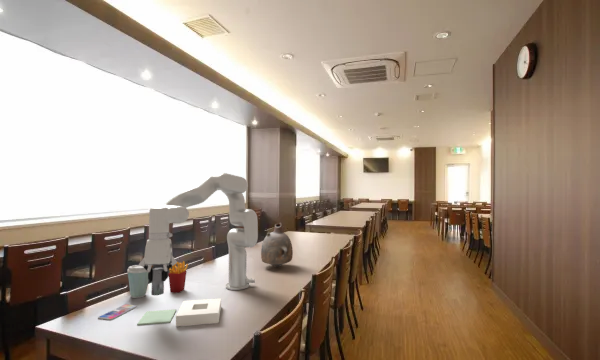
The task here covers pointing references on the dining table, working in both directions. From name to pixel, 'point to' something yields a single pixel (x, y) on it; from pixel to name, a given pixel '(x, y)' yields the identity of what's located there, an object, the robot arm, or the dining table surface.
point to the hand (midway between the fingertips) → (157, 280)
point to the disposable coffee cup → (137, 281)
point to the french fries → (177, 277)
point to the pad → (157, 317)
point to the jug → (276, 247)
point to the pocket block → (199, 312)
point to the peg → (157, 281)
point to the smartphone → (117, 312)
